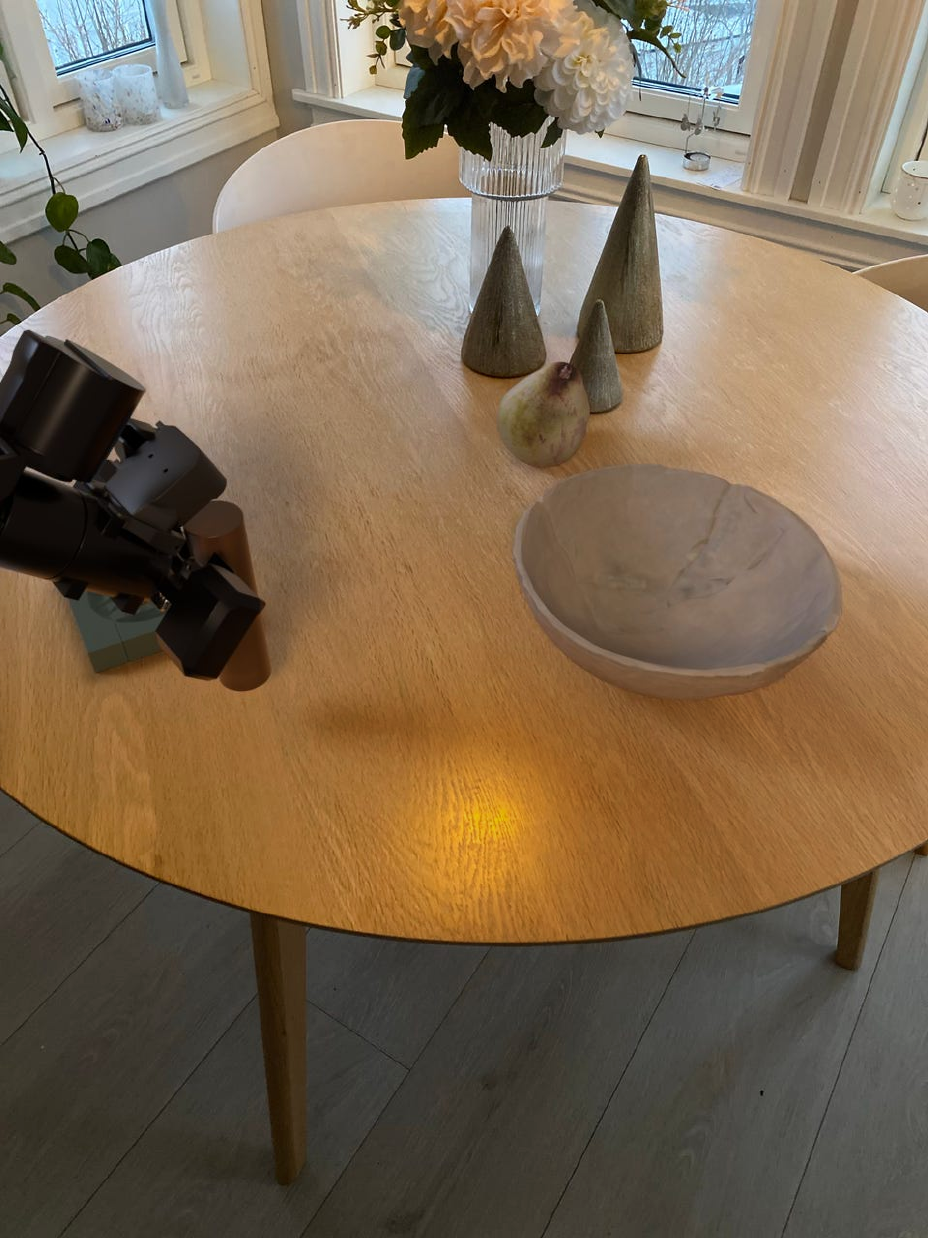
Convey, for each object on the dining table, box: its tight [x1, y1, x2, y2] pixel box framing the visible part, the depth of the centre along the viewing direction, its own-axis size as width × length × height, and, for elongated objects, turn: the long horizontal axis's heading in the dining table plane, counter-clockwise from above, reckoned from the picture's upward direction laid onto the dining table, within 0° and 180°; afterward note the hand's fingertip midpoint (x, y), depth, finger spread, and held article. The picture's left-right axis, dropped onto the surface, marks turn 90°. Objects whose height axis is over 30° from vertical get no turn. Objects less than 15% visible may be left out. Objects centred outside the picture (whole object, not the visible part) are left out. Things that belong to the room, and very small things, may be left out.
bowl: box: [512, 463, 843, 701], centre depth 80 cm, size 26×26×10 cm
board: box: [66, 530, 185, 674], centre depth 85 cm, size 12×12×2 cm
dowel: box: [182, 499, 272, 693], centre depth 69 cm, size 4×4×15 cm
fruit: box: [496, 361, 591, 468], centre depth 100 cm, size 10×9×12 cm
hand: (246, 592), depth 69 cm, fingers closed on dowel, 4 cm apart
